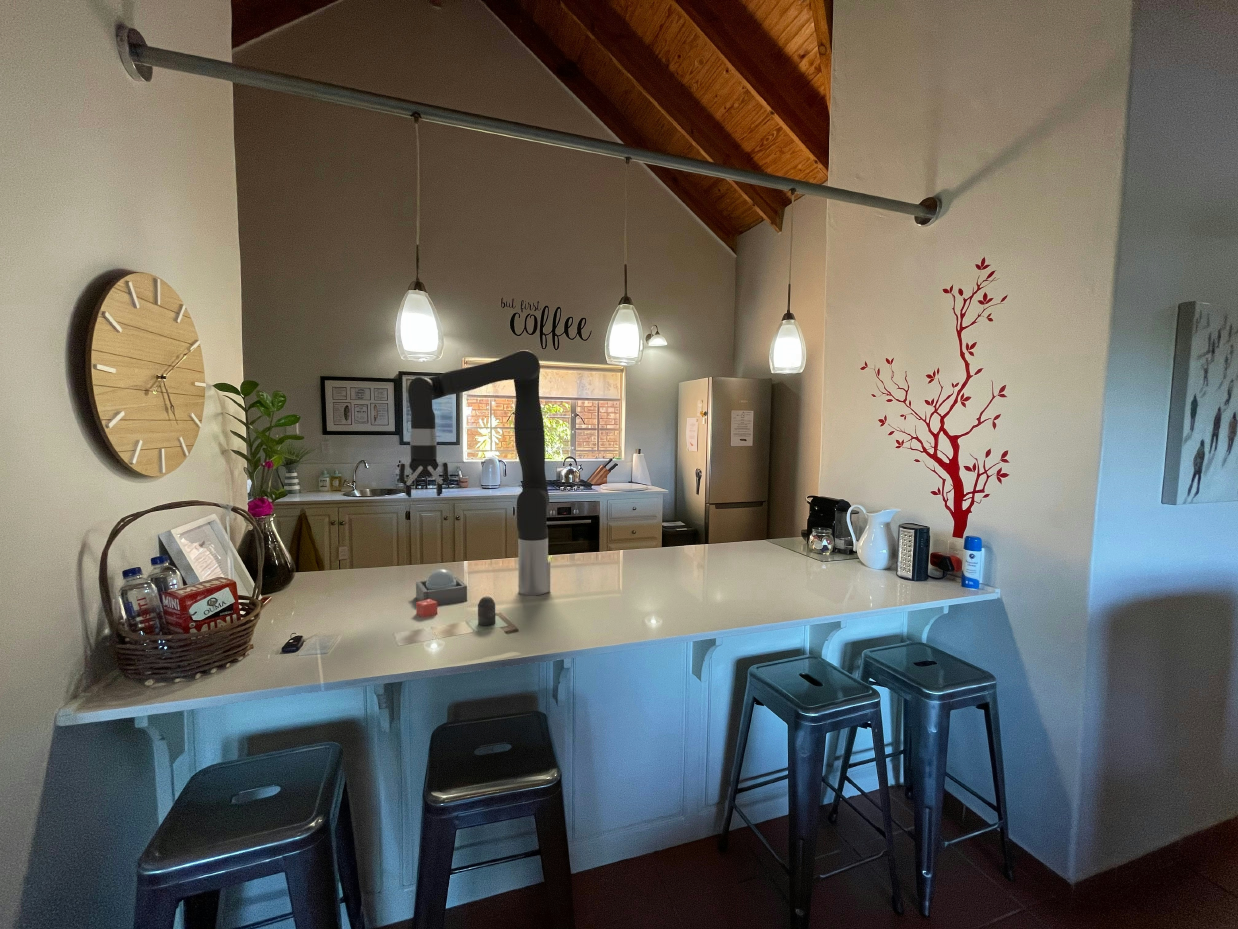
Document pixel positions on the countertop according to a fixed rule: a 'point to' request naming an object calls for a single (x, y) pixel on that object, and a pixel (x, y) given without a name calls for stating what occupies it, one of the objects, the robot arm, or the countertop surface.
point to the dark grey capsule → (486, 612)
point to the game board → (452, 630)
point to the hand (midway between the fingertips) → (424, 496)
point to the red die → (426, 608)
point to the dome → (440, 580)
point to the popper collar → (442, 593)
